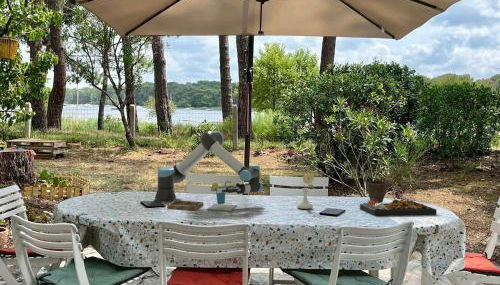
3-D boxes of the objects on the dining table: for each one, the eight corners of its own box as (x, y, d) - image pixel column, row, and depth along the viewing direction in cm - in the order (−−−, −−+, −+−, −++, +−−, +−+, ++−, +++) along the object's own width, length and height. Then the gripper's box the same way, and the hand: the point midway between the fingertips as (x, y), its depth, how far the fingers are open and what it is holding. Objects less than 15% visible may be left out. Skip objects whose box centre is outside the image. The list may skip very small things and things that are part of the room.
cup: (229, 202, 430) (228, 180, 430) (234, 203, 423) (233, 181, 423) (210, 203, 424) (209, 181, 424) (214, 204, 417) (214, 182, 417)
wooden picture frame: (167, 208, 419) (167, 204, 419) (175, 203, 437) (175, 200, 436) (196, 210, 415) (196, 206, 415) (203, 205, 433) (203, 202, 433)
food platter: (374, 217, 411) (374, 201, 410) (359, 210, 435) (360, 195, 434) (436, 215, 421) (437, 200, 420) (418, 209, 445) (419, 194, 444)
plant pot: (378, 206, 448) (379, 184, 446) (361, 203, 459) (362, 181, 458) (390, 204, 457) (391, 182, 456) (374, 201, 469) (375, 180, 467)
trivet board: (207, 210, 416) (207, 208, 416) (214, 205, 435) (214, 203, 435) (230, 211, 413) (230, 210, 413) (236, 206, 432) (236, 205, 432)
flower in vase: (293, 208, 431) (294, 172, 429) (303, 206, 440) (304, 171, 438) (308, 211, 422) (309, 174, 421) (318, 209, 431) (319, 173, 429)
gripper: (250, 195, 425) (221, 198, 412) (234, 191, 442) (206, 193, 429) (250, 184, 424) (222, 186, 412) (234, 180, 441) (206, 182, 429)
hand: (214, 190), depth 420 cm, fingers closed on cup, 8 cm apart
